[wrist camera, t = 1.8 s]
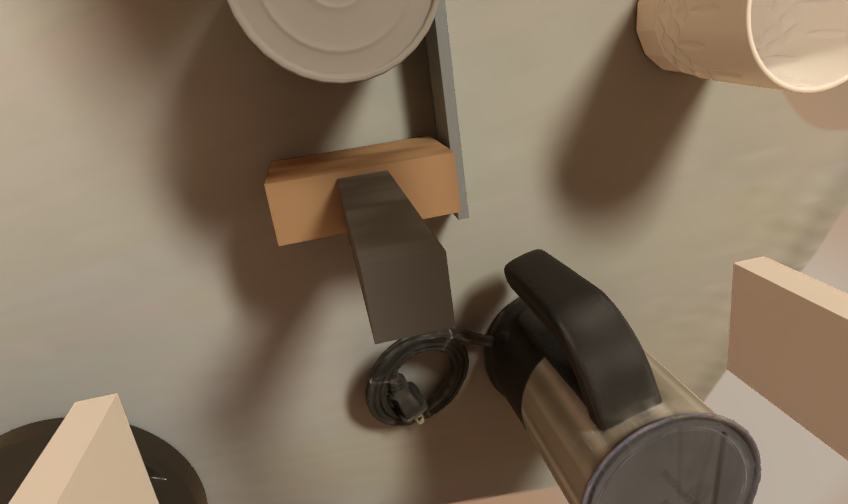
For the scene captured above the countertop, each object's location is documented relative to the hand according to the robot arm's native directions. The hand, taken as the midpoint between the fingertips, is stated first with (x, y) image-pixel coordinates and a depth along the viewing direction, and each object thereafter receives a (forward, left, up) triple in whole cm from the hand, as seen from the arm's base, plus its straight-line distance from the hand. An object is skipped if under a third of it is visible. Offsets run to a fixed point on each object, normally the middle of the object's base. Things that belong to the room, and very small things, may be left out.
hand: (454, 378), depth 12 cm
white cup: (+21, +6, -23) cm, 32 cm away
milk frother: (+7, -14, -23) cm, 28 cm away
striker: (0, 0, -23) cm, 23 cm away
